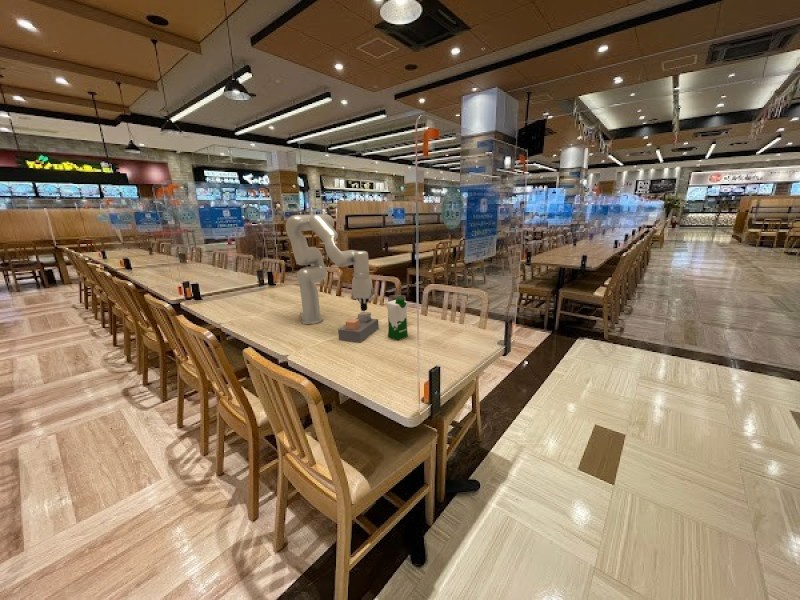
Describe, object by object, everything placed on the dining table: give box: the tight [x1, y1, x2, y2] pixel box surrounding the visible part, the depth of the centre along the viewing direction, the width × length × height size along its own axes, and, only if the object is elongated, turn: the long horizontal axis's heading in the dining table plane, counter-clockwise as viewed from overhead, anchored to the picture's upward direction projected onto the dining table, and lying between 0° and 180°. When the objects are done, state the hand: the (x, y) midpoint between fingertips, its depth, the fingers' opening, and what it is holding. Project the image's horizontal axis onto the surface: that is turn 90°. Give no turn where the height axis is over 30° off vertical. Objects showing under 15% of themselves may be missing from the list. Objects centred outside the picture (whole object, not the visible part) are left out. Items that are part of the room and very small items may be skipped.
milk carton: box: [385, 298, 409, 341], centre depth 156 cm, size 9×9×20 cm
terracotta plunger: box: [344, 318, 360, 331], centre depth 156 cm, size 5×5×5 cm
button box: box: [337, 317, 380, 344], centre depth 163 cm, size 12×20×6 cm, turn 158°
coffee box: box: [387, 294, 407, 302], centre depth 174 cm, size 9×6×16 cm
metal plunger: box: [357, 311, 372, 323], centre depth 167 cm, size 5×5×5 cm
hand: (364, 310), depth 166 cm, fingers closed
